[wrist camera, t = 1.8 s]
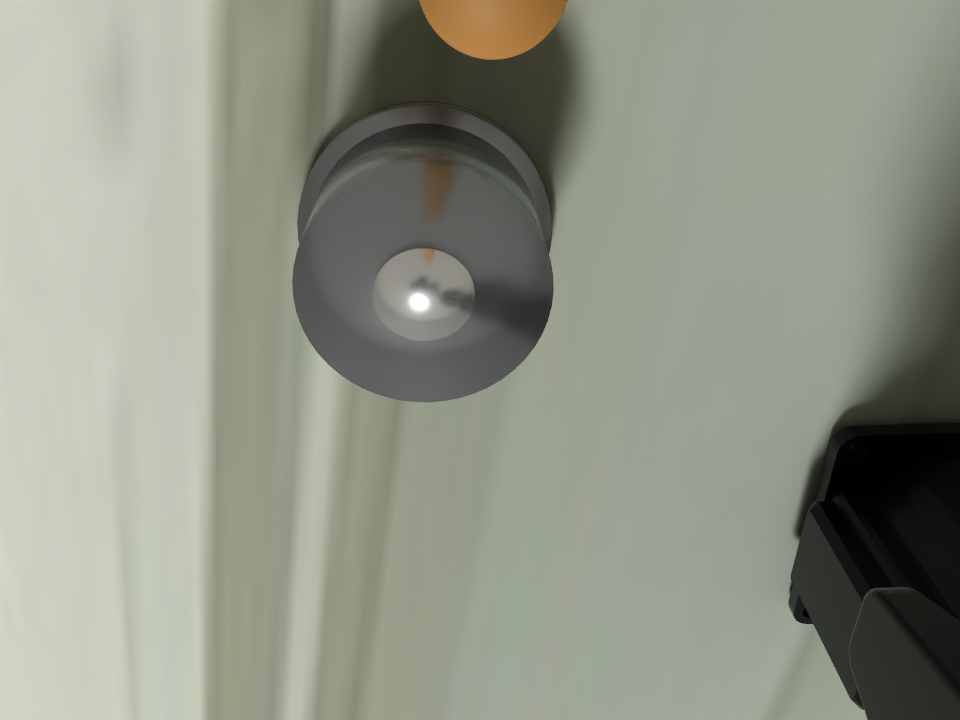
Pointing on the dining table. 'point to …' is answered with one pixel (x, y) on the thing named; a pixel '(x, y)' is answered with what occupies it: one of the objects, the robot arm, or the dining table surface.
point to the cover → (423, 253)
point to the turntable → (493, 24)
